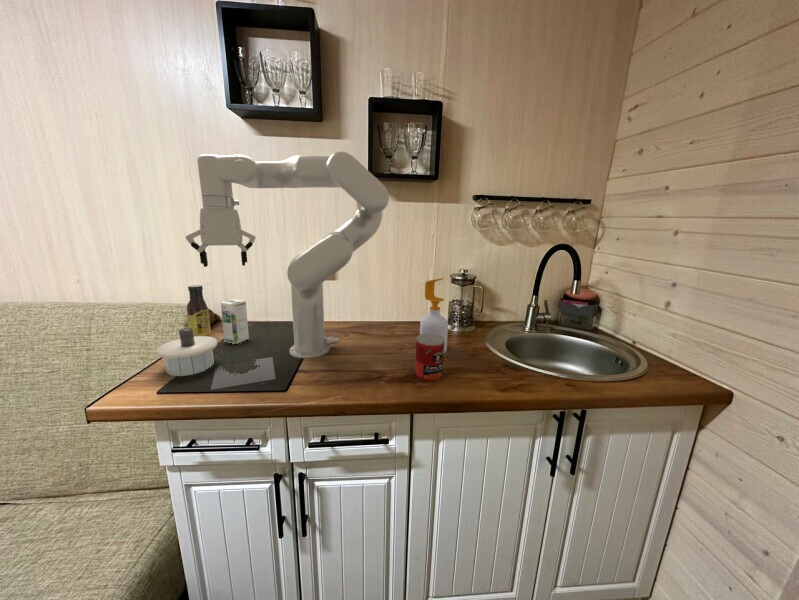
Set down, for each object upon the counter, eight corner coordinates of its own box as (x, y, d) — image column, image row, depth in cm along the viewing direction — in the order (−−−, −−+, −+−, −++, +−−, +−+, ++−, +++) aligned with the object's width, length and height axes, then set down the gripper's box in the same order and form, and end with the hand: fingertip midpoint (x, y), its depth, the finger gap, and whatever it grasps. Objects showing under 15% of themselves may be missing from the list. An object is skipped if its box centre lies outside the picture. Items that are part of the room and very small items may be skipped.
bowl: (215, 357, 97) (213, 339, 96) (211, 372, 88) (208, 352, 86) (172, 363, 93) (169, 344, 91) (163, 379, 83) (159, 358, 82)
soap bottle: (433, 358, 100) (437, 281, 94) (413, 349, 107) (416, 277, 101) (452, 351, 106) (456, 278, 100) (432, 343, 113) (435, 274, 107)
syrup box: (223, 342, 109) (219, 302, 106) (238, 337, 114) (234, 298, 111) (236, 345, 107) (231, 304, 103) (250, 339, 112) (246, 300, 109)
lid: (219, 336, 98) (217, 319, 96) (214, 353, 85) (212, 334, 84) (164, 343, 92) (161, 325, 91) (150, 362, 80) (147, 341, 78)
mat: (272, 358, 98) (272, 357, 97) (275, 380, 84) (275, 378, 84) (216, 366, 92) (216, 365, 91) (210, 391, 78) (210, 389, 78)
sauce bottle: (202, 347, 105) (194, 288, 100) (186, 345, 106) (177, 287, 102) (216, 340, 111) (210, 284, 107) (201, 338, 112) (194, 283, 108)
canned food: (424, 384, 84) (426, 345, 81) (409, 371, 91) (411, 335, 88) (448, 378, 87) (450, 340, 85) (432, 366, 94) (434, 331, 92)
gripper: (252, 205, 94) (257, 263, 98) (183, 203, 87) (192, 265, 91) (252, 204, 88) (258, 266, 92) (178, 201, 81) (187, 268, 85)
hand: (225, 265), depth 91 cm, fingers open, 9 cm apart
